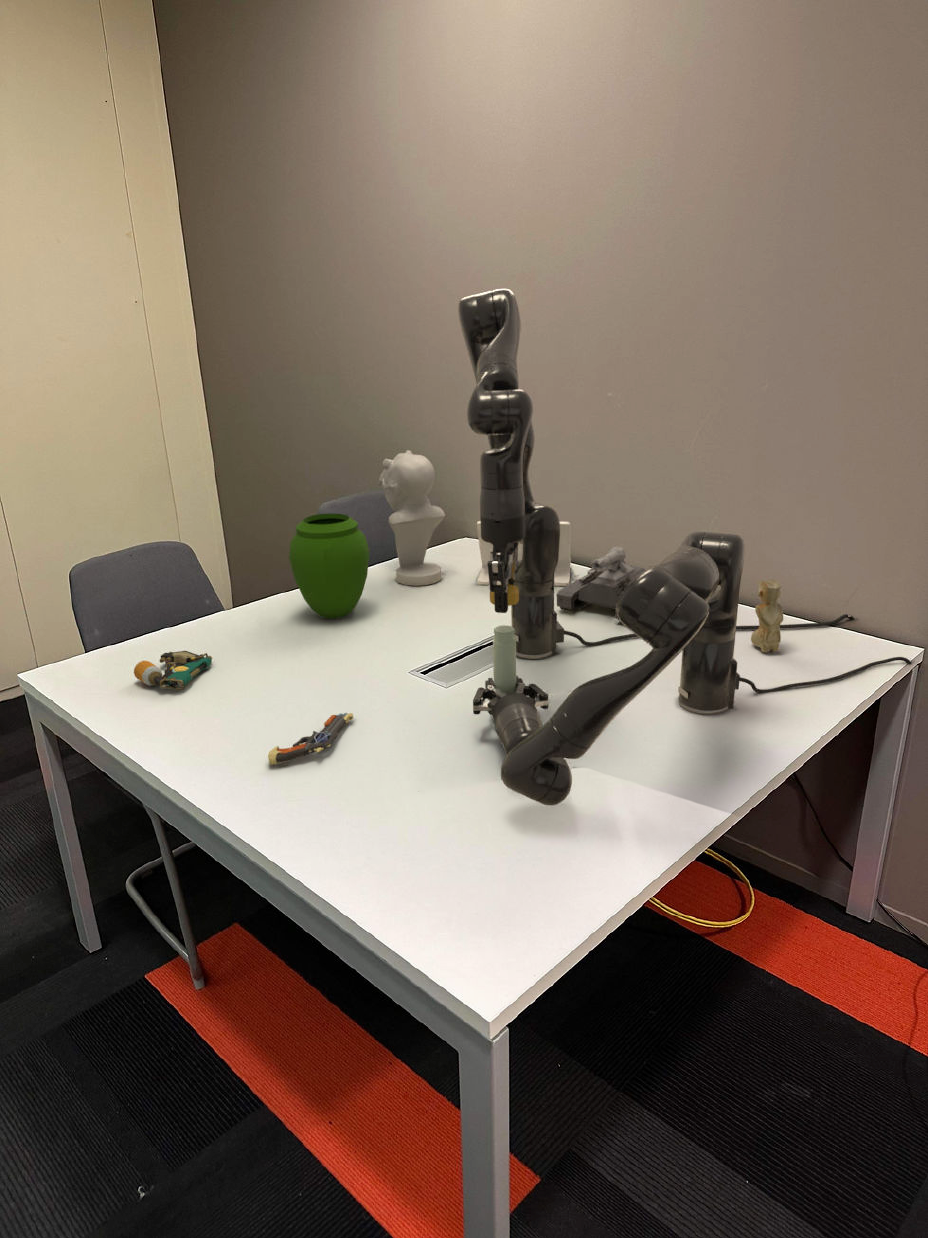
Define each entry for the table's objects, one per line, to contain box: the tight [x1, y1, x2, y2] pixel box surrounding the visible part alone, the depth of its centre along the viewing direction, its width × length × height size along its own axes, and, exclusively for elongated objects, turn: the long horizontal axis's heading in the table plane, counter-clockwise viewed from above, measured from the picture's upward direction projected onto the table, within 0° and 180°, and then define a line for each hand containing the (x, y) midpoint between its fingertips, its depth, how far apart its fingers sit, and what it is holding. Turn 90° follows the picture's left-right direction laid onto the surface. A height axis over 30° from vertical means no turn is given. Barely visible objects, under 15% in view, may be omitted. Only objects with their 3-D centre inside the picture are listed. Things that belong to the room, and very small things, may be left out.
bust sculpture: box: [378, 449, 446, 587], centre depth 236 cm, size 16×24×35 cm, turn 28°
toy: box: [556, 546, 646, 621], centre depth 212 cm, size 25×20×15 cm
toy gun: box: [267, 712, 354, 765], centre depth 151 cm, size 3×19×10 cm
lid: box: [489, 584, 519, 607], centre depth 149 cm, size 5×5×2 cm
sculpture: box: [750, 579, 784, 653], centre depth 183 cm, size 6×7×15 cm
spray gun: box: [133, 650, 213, 690], centre depth 180 cm, size 4×17×15 cm
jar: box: [492, 624, 517, 693], centre depth 155 cm, size 4×4×18 cm
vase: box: [288, 512, 370, 620], centre depth 209 cm, size 20×20×24 cm
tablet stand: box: [476, 520, 572, 587], centre depth 236 cm, size 18×25×17 cm
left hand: (504, 606), depth 150 cm, fingers closed on lid, 5 cm apart
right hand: (502, 681), depth 158 cm, fingers closed on jar, 4 cm apart
